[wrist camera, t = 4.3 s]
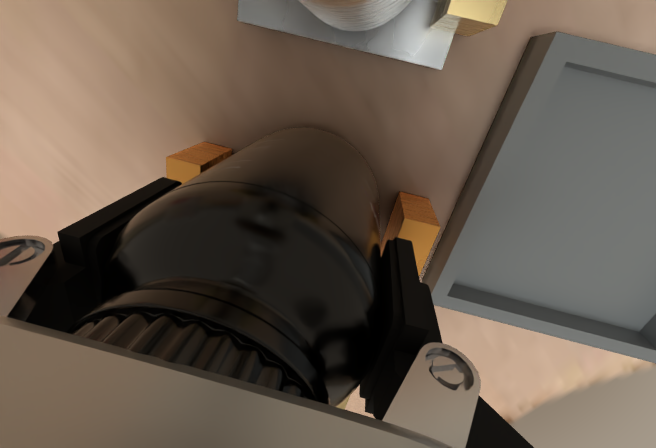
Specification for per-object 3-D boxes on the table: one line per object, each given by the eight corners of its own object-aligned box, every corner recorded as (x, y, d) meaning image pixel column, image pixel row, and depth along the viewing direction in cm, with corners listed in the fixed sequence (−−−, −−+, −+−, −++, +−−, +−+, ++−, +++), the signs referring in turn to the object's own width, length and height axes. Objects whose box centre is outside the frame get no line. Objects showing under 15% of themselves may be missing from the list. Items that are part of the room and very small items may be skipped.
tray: (531, 37, 11) (557, 31, 10) (848, 112, 11) (928, 119, 9) (422, 280, 17) (427, 303, 15) (634, 336, 16) (662, 364, 15)
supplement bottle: (408, 212, 15) (496, 604, 4) (300, 276, 17) (179, 616, 7) (317, 86, 13) (11, 201, 2) (211, 179, 15) (-168, 444, 5)
